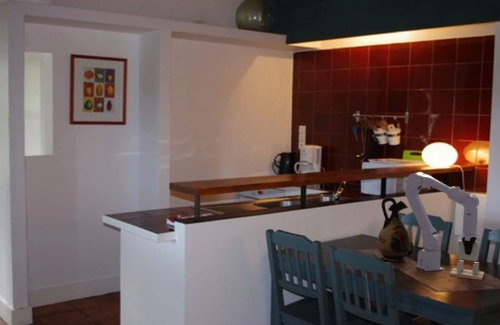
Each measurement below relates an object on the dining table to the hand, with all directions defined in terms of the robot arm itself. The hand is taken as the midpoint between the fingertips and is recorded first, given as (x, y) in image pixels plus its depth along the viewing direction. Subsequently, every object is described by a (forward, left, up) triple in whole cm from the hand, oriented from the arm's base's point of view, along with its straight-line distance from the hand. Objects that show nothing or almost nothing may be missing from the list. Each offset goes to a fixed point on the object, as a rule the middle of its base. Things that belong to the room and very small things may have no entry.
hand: (468, 253), depth 254 cm
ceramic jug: (-19, +31, -9) cm, 37 cm away
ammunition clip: (-6, +42, -9) cm, 43 cm away
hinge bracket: (-1, -1, -9) cm, 9 cm away
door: (0, 0, -2) cm, 3 cm away
